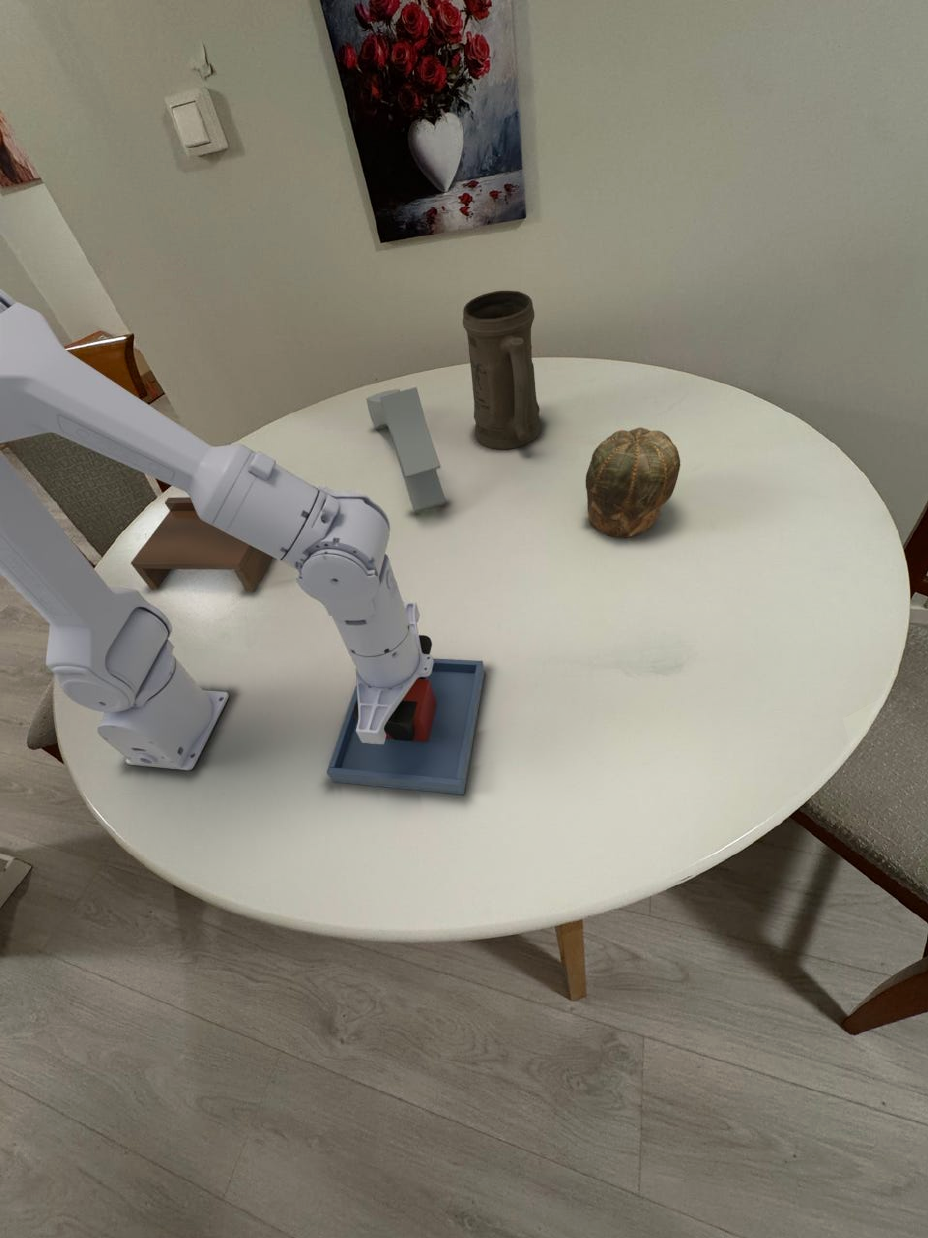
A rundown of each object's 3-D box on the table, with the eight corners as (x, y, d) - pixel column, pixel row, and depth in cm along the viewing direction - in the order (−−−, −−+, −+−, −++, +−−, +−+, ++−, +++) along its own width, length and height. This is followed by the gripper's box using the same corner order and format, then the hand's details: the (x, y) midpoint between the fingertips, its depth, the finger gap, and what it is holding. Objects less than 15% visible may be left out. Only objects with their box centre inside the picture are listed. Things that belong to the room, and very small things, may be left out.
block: (428, 742, 58) (419, 718, 55) (385, 738, 59) (374, 715, 56) (437, 704, 61) (429, 679, 58) (396, 701, 62) (386, 676, 59)
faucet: (393, 492, 105) (414, 524, 77) (364, 396, 98) (375, 394, 71) (426, 483, 105) (458, 511, 78) (399, 387, 99) (424, 380, 71)
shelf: (254, 592, 77) (233, 555, 72) (150, 589, 81) (123, 554, 76) (286, 532, 85) (269, 496, 80) (190, 531, 88) (168, 497, 83)
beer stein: (462, 425, 97) (446, 301, 82) (519, 404, 99) (514, 279, 84) (505, 475, 88) (497, 346, 73) (566, 450, 90) (571, 320, 74)
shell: (672, 547, 72) (686, 464, 63) (582, 544, 75) (583, 464, 66) (670, 493, 79) (682, 411, 70) (587, 492, 81) (589, 413, 72)
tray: (463, 795, 54) (460, 785, 53) (332, 782, 57) (326, 772, 56) (484, 671, 63) (482, 660, 62) (370, 665, 66) (366, 654, 65)
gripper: (401, 706, 44) (433, 786, 54) (438, 570, 53) (459, 660, 63) (314, 700, 45) (361, 779, 55) (365, 569, 54) (397, 657, 64)
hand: (409, 715), depth 59 cm, fingers closed on block, 4 cm apart
